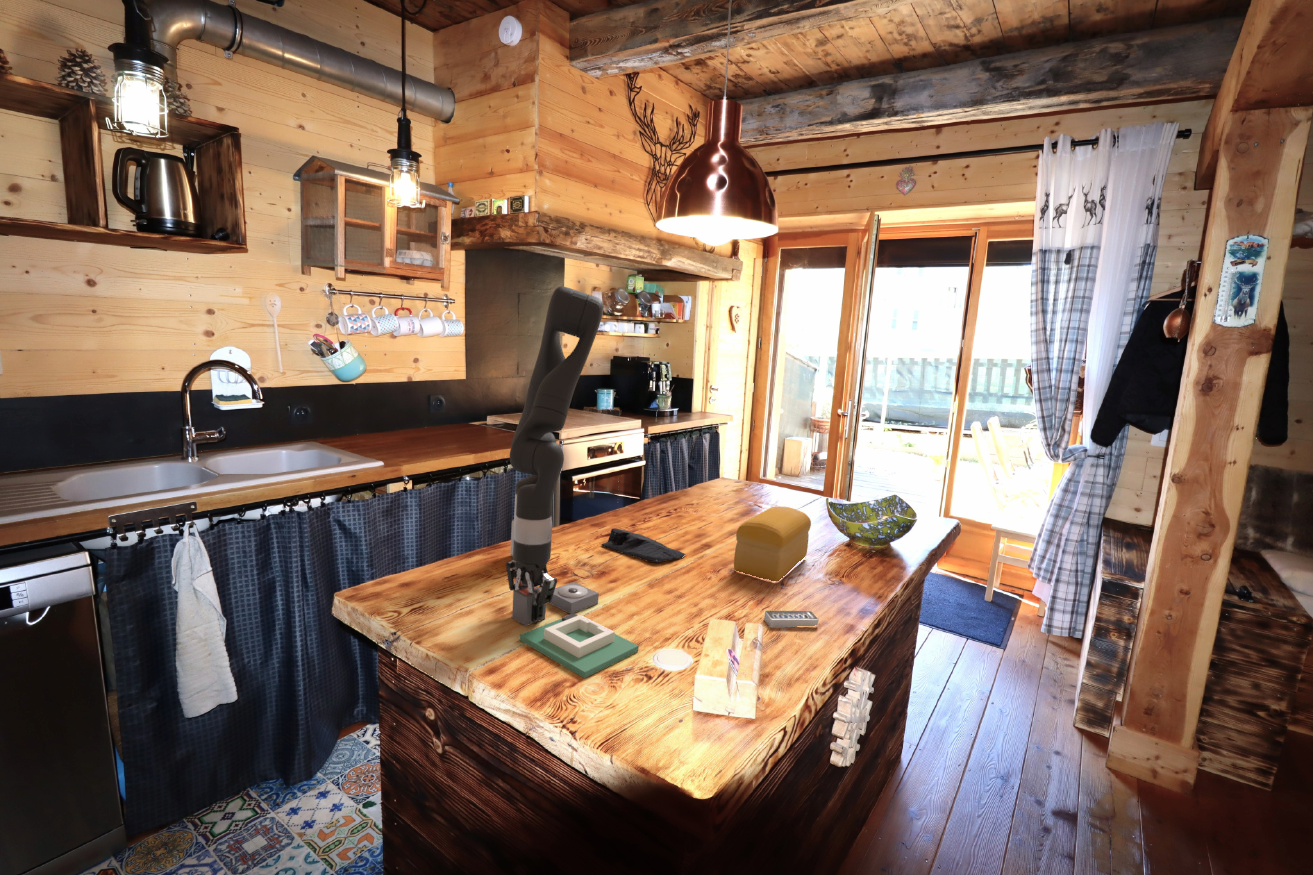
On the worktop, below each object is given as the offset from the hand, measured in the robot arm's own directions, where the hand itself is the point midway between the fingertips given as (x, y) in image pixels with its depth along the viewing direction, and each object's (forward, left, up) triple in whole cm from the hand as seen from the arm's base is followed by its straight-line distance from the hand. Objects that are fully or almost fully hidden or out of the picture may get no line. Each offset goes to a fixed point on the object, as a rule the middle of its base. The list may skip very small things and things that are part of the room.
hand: (528, 615), depth 128 cm
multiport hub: (+38, +41, -1) cm, 56 cm away
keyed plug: (0, 0, 0) cm, 0 cm away
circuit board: (+15, 0, -1) cm, 15 cm away
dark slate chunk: (-12, +50, -1) cm, 52 cm away
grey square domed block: (0, +12, -1) cm, 12 cm away
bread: (+17, +70, -1) cm, 72 cm away
